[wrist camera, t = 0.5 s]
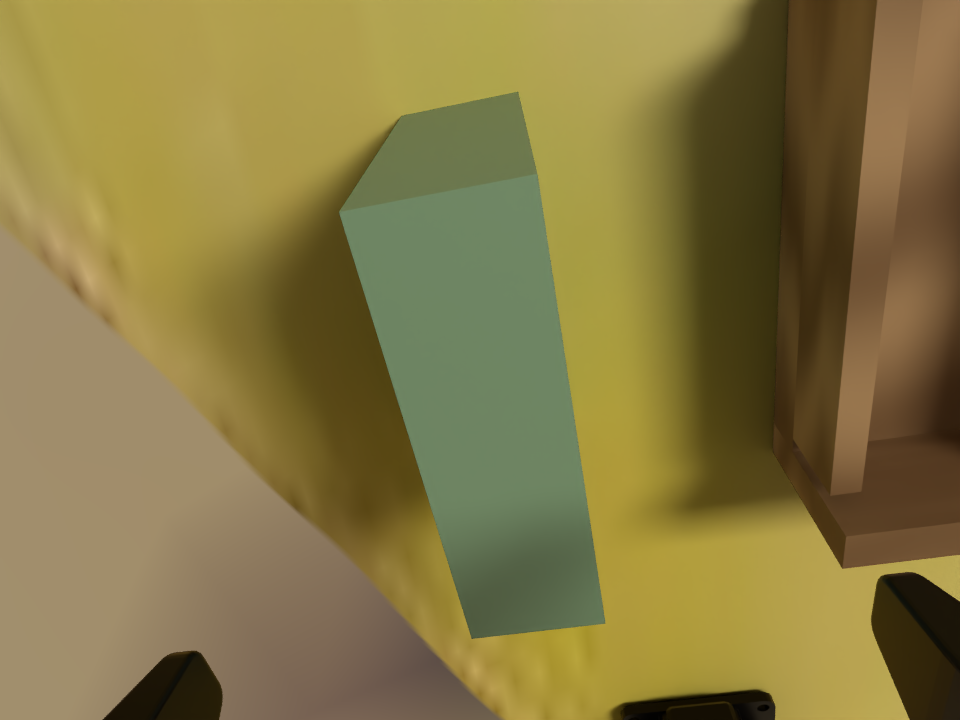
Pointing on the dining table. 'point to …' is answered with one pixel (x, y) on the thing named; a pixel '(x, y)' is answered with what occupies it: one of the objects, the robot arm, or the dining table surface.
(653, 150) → the dining table surface
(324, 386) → the dining table surface
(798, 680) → the dining table surface
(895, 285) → the book rack
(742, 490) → the dining table surface
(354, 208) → the green book
